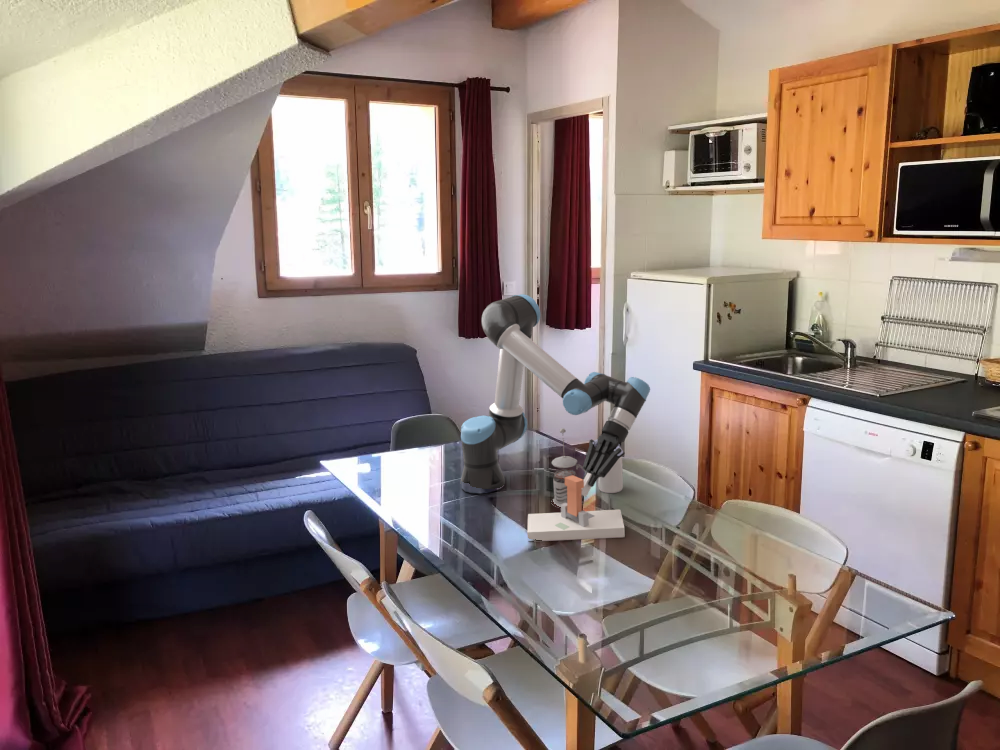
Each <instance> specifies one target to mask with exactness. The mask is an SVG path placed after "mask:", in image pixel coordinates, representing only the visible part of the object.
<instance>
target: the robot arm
mask: <svg viewBox="0 0 1000 750" xmlns="http://www.w3.org/2000/svg"><path fill="white" fill-rule="evenodd" d="M540 320H541V309H540V306H539V305H538V303H537V302H536V300H535V299H534V298H533V297H531V296H530V295H528V294H515V295H512V296H510V297H507V298H503V299H499V300H496V301H493V302H491V303H490V304H488V305H487V306H486V308H485V309H483V311H482V315H481V327H482V330H483V332H484V334H485V335H486V337H487V339H488V340H489V341H490V342H491V343H492V344H493V345H494V346H495V347H496V348H498V349H499V355H498V363H497V373H496V384H495V395H494V402H493V403H491V404H490V405H489V410H488V411H489V412H488V415H478V416H473V417H471V418H468V419H466V420H465V421H463V423H462V425H461V427H460V440H461V448H462V459H463V469H462V473H461V478H460V482H461V481H462V482H464V483H469V484H470V486H472V487H476V488H482V489H495V488H500V487H502V486H503V485H504V484H505V485H506V479H505V478H506V477H505V476H504V473H503V471H502V469H501V465H500V464H499V459H498V457H499V456H498V451H499V450H501V449H504V448H505V447H507V446H509V445H511V444H514V443H516V442H517V441H519V440H520V439H521V438H523V437H524V436H525V434H526V433H527V430H528V419H527V417H525V416H526V414H525V413H524V409H523V408H522V407H523V406H521V405H520V399H521V391H522V383H523V382H522V381H523V375H524V367H525V368H526V369H528V370H529V371H530V372H531V373H532V374H533V375H534V376H536V377H537V378H538V379H539V380H540V381H541V382H542V383H544V384H545V385H546V386H548V388H550V389H551V390H552V391H553V392H555V393H556V394H557V395H558V396H559V397H560V398H561V399H562V406H563V407H564V409H565V411H566V412H567V413H568V414H570V415H572V416H579V415H581V414H584V413H587V412H589V411H590V410H592V409H593V408H594V407H597V406H599V405H600V404H602V403H604V402H607V403H609V404H613V405H614V406H613V408H612V410H611V412H610V413H609V415H608V416H607V419H608V420H606V421H605V423H604V424H603V426H602V428H601V434H600V435H598V437H597V439H594V440H593V439H589V442H588V443H589V444H588V445H589V447H588V449H587V453H586V455H585V459H584V462H583V465H582V467H583V469H584V470H585V471H586V473H585V472H584V475H583V477H582V479H583V480H584V488H581V497H582V496H583V497H585V498H587V496H588V494H589V492H590V490H591V488H593V487H594V486H595V484H596V482H597V481H598V478H599V477H603V478H604V477H605V476H606V475H607V473H608V472H609V471H610V469H611V468H612V467H613V466H614V464H615V463H616V462H617V460H618V459H619V458H620V457H621V456H622V457H623V456H624V455H625V454H626V453H625V451H624V450H623V449H622V448H621V447H622V444H623V443H624V442H625V440H626V439H627V437H628V435H629V431H630V430H631V429H632V427H633V425H634V423H635V422H636V419H637V417H638V415H639V413H640V411H641V410H642V409H643V406H644V404H645V403H646V402H647V398H648V396H649V393H650V392H651V387H650V385H649V384H648V383H647V382H646V381H645V380H643V379H640V378H639V377H636V376H635V377H634V376H630V377H629V378H628V379H627V380H626V381H623V380H619V379H617V378H614V377H611V376H609V375H607V374H605V373H600V372H597V371H592V372H590V373H589V374H588V376H586V378H585V380H584V382H582V381H581V380H580V379H579V378H577V377H576V376H575V375H574V374H572V373H571V372H570V371H569V370H568V369H566V368H565V367H564V366H563V365H562V364H561V363H560V362H558V361H557V360H556V359H554V357H552V356H551V355H550V354H549V353H548V352H546V351H545V350H544V349H543V348H542V347H541V346H539V345H538V344H537V343H536V342H534V340H532V334H533V328H534V327H535V326H536V327H537V325H538V324H539V322H540ZM583 469H582V470H583ZM584 470H583V471H584ZM505 485H504V486H505Z"/></svg>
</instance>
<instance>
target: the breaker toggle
mask: <svg viewBox="0 0 1000 750" xmlns="http://www.w3.org/2000/svg"><path fill="white" fill-rule="evenodd" d="M576 476H577V475H576ZM576 476H573V475H571V476H568V477H565V481H564V483H565V486H567V512H566V516H567V517H569V518H571V519H573V520H575V521H577V522H579V515H578V512H581V511H583V508H582V504H583V502H582V501H583V500H582V499H583V498H582V495H581V488H584V480H583V478H581V477H578V476H577V477H576Z"/></svg>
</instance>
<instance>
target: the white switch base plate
mask: <svg viewBox="0 0 1000 750" xmlns="http://www.w3.org/2000/svg"><path fill="white" fill-rule="evenodd" d="M566 512H567V503H566V502H565V503H563V504H561V508H560V512H545V513H542V512H541V513H528V514H527V539H528V538H529V539H536V540H542V541H541V542H549V541H550V542H551V541H553V542H554V541H571V540H575V541H576V540H593V539H612V538H613V539H614V538H615V539H616V538H626V537H625V535H626V534H625V533H626V532H625V531H626V530H625V524H624V519H623V516H622V511H621V509H604V510H587V511H586V510H583V509H582V511H581V512H578V515H579V522H577V521H575V520H573V519H571V518H569V517H567V516H566Z"/></svg>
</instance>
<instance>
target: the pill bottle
mask: <svg viewBox="0 0 1000 750" xmlns="http://www.w3.org/2000/svg"><path fill="white" fill-rule="evenodd" d="M623 479H624V477H623V456H621V457H620V458H619V459H618V460H617V462H616V463H615V464H614V466H613V467H612V468H611V469H610V471H609V472H608V473H607V475H606V476H605V477H604V478H603V477H599V478H598V479H597V481H598V490H600V492H602V493H604V494H616V493H620V492H621V491H622V490H623V488H624V482H623V481H624V480H623Z"/></svg>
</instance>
